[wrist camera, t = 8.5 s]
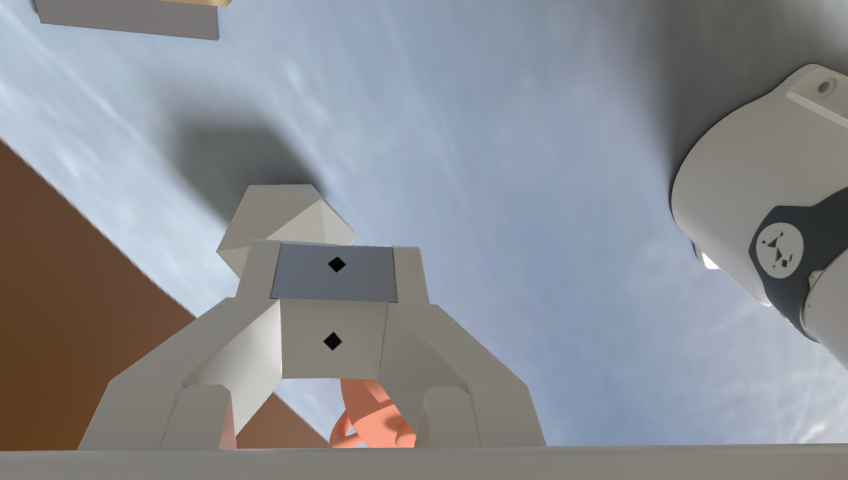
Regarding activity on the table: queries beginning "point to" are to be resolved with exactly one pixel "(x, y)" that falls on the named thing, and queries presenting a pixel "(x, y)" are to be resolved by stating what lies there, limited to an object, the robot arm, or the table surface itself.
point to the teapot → (370, 418)
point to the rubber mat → (134, 16)
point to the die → (281, 221)
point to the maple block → (205, 2)
